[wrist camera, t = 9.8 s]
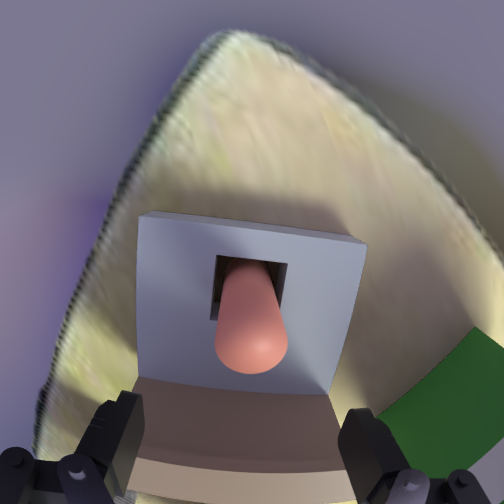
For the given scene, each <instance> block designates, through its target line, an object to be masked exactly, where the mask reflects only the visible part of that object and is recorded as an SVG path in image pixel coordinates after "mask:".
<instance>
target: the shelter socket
mask: <svg viewBox="0 0 504 504" xmlns="http://www.w3.org/2000/svg"><path fill="white" fill-rule="evenodd" d="M367 247H368V245H367V244H365V243H364V242H362V241H360V240H358V239H356V238H355V237H353V236H350V235H343V234H336V233H329V232H322V231H315V230H308V229H301V228H294V227H286V226H279V225H271V224H264V223H256V222H248V221H240V220H232V219H223V218H215V217H207V216H198V215H189V214H180V213H171V212H161V211H151V212H148V213H146V214H143V215H141V216H139V224H138V241H137V267H136V332H137V357H138V374H139V377H138V379H137V381H136V383H135V385H134V387H133V390H132V392H134V393H139V394H141V395H142V398H143V409H144V418H145V430H144V435H143V438H142V441H141V444H140V447H139V451H138V454H137V457H136V460H135V463H134V466H133V470H132V473H131V476H130V479H129V483H128V486H127V489H129V490H133V491H137V492H142V493H146V494H151V495H156V496H161V497H166V498H172V499H178V500H185V501H192V502H199V503H208V504H329V503H338V502H345V501H352V500H356V497H355V494H354V491H353V489H352V486H351V483H350V480H349V477H348V474H347V471H346V469H345V466H344V463H343V460H342V457H341V454H340V452H339V449H338V435H339V432H340V430H341V428H340V426H339V423H338V420H337V418H336V415H335V412H334V410H333V407H332V404H331V402H330V399H329V396H328V393H329V390H330V387H331V384H332V381H333V378H334V375H335V372H336V369H337V365H338V362H339V359H340V356H341V352H342V349H343V345H344V342H345V338H346V335H347V331H348V328H349V324H350V320H351V317H352V313H353V309H354V305H355V301H356V297H357V293H358V289H359V284H360V280H361V276H362V271H363V267H364V262H365V257H366V252H367ZM218 255H223V256H231V257H239V258H248V259H256V260H264V261H273V262H280V264H279V271H278V277H277V283H276V289H275V295H276V299H277V302H278V306H279V309H280V313H281V316H282V320H283V323H284V327H285V330H286V334H287V338H288V346H287V351H286V353H285V355H284V357H283V358H282V360H281V361H280V362H279V363H278V364H277V365H276V366H274V367H273V368H271V369H269V370H267V371H265V372H261V373H256V374H245V373H240V372H237V371H234V370H232V369H230V368H229V367H227V366H226V365H225V364H223V362H222V361H221V360H220V359H219V357H218V355H217V353H216V350H215V335H216V329H217V322H218V316H219V309H220V303H221V302H214V293H215V283H216V273H217V264H218Z"/></svg>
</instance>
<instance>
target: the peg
mask: <svg viewBox="0 0 504 504" xmlns="http://www.w3.org/2000/svg"><path fill="white" fill-rule="evenodd" d="M287 346H288V338H287V334H286V330H285V327H284V323H283V320H282V316H281V313H280V309H279V306H278V302H277V299H276V295H275V292H274V288H273V285H272V281H271V278H270V274H269V271H268V268H267V266H266V265H265V263H264V262H263V261H261V260H256V259H248V258H239V257H238V258H236V259H234V260H233V261H232V262H231V263H230V264H229V265H228V267H227V269H226V272H225V278H224V284H223V290H222V297H221V303H220V309H219V316H218V322H217V329H216V335H215V350H216V353H217V355H218V357H219V359H220V360H221V361H222V362H223V364H225V365H226V366H227V367H229V368H230V369H232V370H234V371H237V372H240V373H245V374H256V373H261V372H265V371H267V370H269V369H271V368H273V367H274V366H276V365H277V364H278V363H279V362H280V361H281V360H282V358H283V357H284V355H285V353H286V351H287Z"/></svg>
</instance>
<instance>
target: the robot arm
mask: <svg viewBox="0 0 504 504" xmlns="http://www.w3.org/2000/svg"><path fill="white" fill-rule="evenodd" d="M144 430H145V418H144V409H143V398H142V395H141V394H139V393H134V392H129V391H124V390H122V391H121V393H120V395H119V397H118V399H117V401H116V402H115V401H111V400H107V401H106V402H105V403H103V404H102V405H100V406H99V407H98V409H97V411H96V413H95V415H94V418H92V420H91V422H90V425H89V426H88V428H87V430H86V431H85V433H84V435H83V437H82V439H81V441H80V443H79V445H78V447H77V449H76V451H75V452H74V454H70V455H67V456H65V457H63V458H62V459H61V460H60V461H45V460H37V459H34V458H33V456H32V455H31V453H30V452H29V451H27V450H26V449H24V448H21V447H11V448H8V449H6V450H4V451H3V452H2V454H1V455H0V504H115V503H114V497H115V496H119V497H122V498H124V496H125V492H126V489H127V486H128V483H129V479H130V476H131V473H132V470H133V466H134V463H135V460H136V457H137V454H138V451H139V447H140V444H141V441H142V438H143V435H144ZM338 449H339V452H340V454H341V457H342V460H343V463H344V466H345V469H346V471H347V474H348V477H349V480H350V483H351V486H352V489H353V491H354V494H355V497H356V500H357V503H358V504H491V502H490V500H489V499H488V497H487V495H486V494H485V492H484V490H483V489H482V487H481V485H480V483H479V482H478V480H477V479H476V477H475V475H474V474H473V473H471V472H470V471H468V470H465V469H457V470H454V471H452V472H451V473H450V475H449V476H448V477H447V478H428V476H427V475H426V474H425V473H424V472H422V471H420V470H417V469H412V468H411V467H410V465H409V463H408V461H407V459H406V458H405V456H404V454H403V452H402V450H401V448H400V447H399V445H398V443H397V441H396V440H395V438H394V436H393V434H392V432H391V431H390V429H389V427H388V426H387V425H386V424H385V423H384V422H383V421H381V420H380V419H375V418H374V416H373V414H372V412H371V411H370V409H369V408H357V409H350V410H349V411H348V413H347V415H346V418H345V420H344V423H343V425H342V428H341V430H340V432H339V435H338ZM204 504H208V503H204Z"/></svg>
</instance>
